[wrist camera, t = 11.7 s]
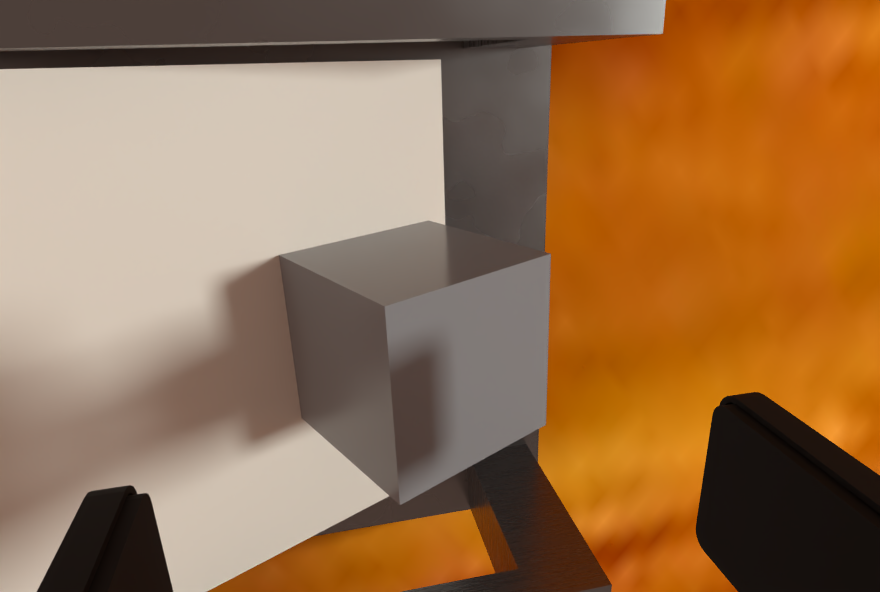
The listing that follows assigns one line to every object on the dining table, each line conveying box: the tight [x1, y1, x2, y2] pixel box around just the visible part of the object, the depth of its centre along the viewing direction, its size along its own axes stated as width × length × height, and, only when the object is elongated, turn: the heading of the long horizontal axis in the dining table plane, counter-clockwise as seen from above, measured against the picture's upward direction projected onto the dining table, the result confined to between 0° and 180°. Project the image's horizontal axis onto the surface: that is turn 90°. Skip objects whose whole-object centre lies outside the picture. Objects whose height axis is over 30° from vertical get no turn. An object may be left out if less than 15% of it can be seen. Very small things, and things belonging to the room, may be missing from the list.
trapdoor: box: [0, 59, 445, 592], centre depth 15 cm, size 18×14×3 cm
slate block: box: [279, 220, 551, 505], centre depth 17 cm, size 5×5×5 cm
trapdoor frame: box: [0, 0, 666, 592], centre depth 17 cm, size 19×20×8 cm
